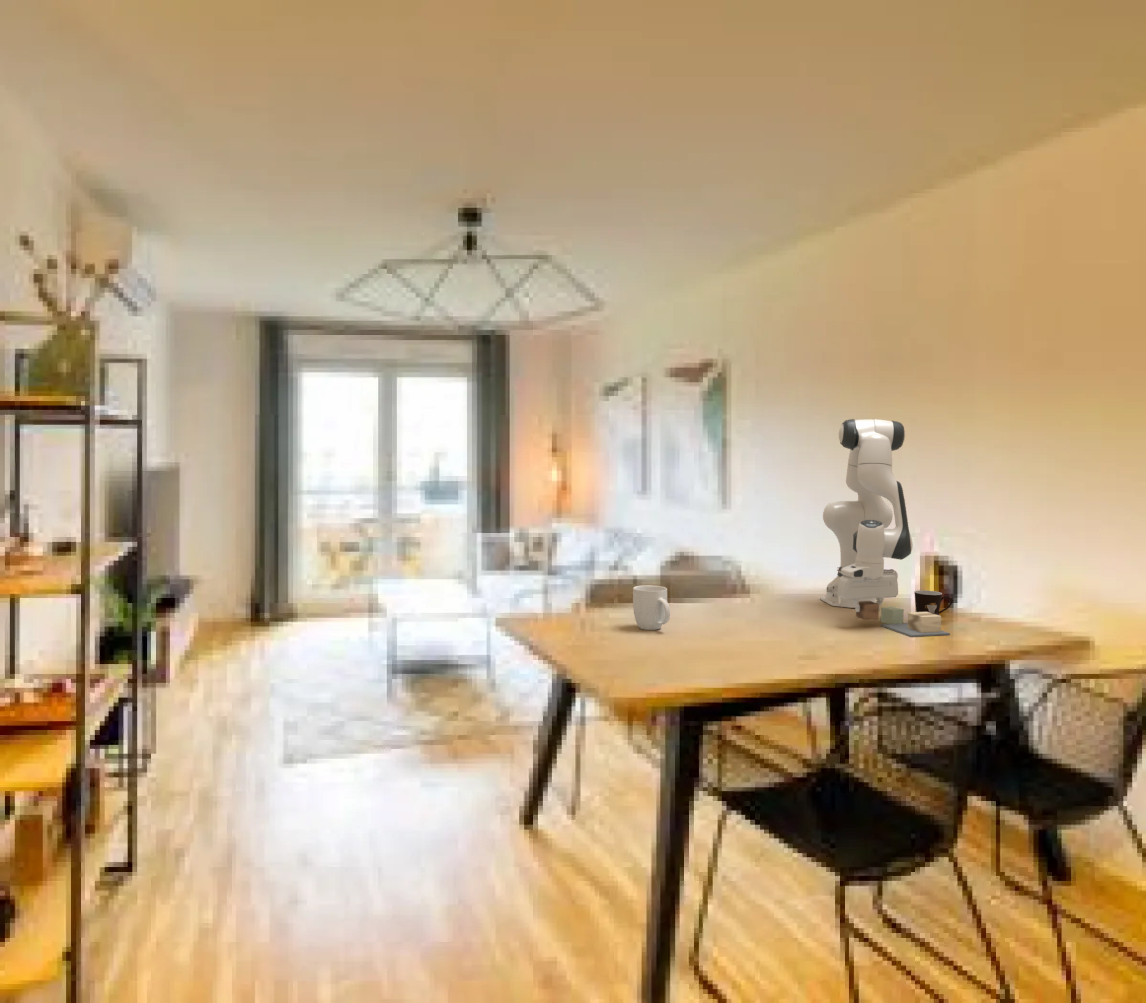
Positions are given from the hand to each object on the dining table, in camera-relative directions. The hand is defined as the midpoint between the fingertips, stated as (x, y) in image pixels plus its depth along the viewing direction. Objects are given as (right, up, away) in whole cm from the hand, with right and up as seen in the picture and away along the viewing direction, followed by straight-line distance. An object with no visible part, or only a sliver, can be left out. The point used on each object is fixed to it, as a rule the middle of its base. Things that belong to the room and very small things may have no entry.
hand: (867, 611), depth 272 cm
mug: (-72, -5, -6) cm, 72 cm away
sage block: (+10, -5, +6) cm, 13 cm away
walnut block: (0, -2, 0) cm, 2 cm away
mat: (+13, -5, -6) cm, 15 cm away
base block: (+16, -5, -7) cm, 18 cm away
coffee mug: (+24, -5, +7) cm, 26 cm away
